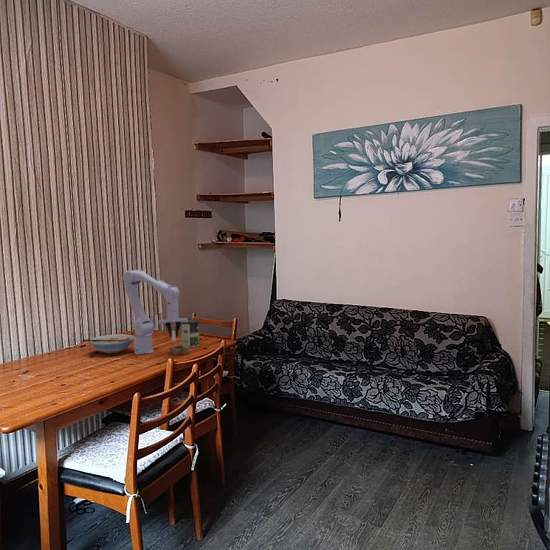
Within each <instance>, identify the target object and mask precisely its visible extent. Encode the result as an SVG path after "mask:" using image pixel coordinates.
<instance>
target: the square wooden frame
mask: <svg viewBox="0 0 550 550" xmlns="http://www.w3.org/2000/svg"><path fill="white" fill-rule="evenodd" d="M168 347H169V348H168V349H169V350H168V351H169V353H170V354H171V353H172V354H171V355H173V356H174V355H175V356H180V355H179V354H181V355H188V354H190V347H187V346H185V345H181V344H179V345H173V346H168ZM187 353H188V354H187Z"/></svg>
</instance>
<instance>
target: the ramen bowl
mask: <svg viewBox="0 0 550 550" xmlns="http://www.w3.org/2000/svg"><path fill="white" fill-rule="evenodd" d="M134 337H135V336H134V335H131V334H124V333H123V334H119V333H118V334H107V335H105V334H104V335H100V336H96V337H94V338H93V337H92V338H91V339H82V340H81V341H82V342H84V343H85V342H86V343H87V342H90V344H91V345H92V347H93V348H94V349H95V350H96V351H98V352H100V353H105V354H107V353H108V354H109V355H111V353H114V354H118V353H120V352H121V351H124V350H126V349H127V348H129V346H131V344H132V342H134ZM108 354H107V355H108Z"/></svg>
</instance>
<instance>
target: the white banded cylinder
mask: <svg viewBox="0 0 550 550" xmlns="http://www.w3.org/2000/svg"><path fill="white" fill-rule="evenodd" d="M170 339H171V342H177V337H176V326H171V338H170Z"/></svg>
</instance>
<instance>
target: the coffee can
mask: <svg viewBox="0 0 550 550" xmlns="http://www.w3.org/2000/svg"><path fill="white" fill-rule="evenodd" d="M187 320H188V322H182V323H181V326H180V345H185V346H187V347H189V348H196V347H199V346H200V320H199V319H196V318H187Z"/></svg>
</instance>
